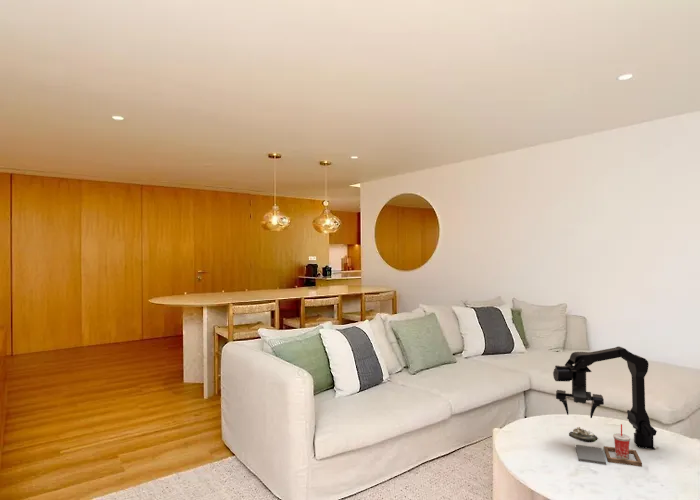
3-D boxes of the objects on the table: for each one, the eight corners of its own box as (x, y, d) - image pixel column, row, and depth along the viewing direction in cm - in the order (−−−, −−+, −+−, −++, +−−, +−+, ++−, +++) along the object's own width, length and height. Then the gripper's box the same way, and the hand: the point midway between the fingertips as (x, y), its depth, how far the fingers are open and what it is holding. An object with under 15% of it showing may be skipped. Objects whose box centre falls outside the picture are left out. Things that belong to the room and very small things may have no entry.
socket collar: (635, 453, 190) (635, 448, 190) (642, 466, 179) (641, 461, 179) (603, 449, 194) (603, 444, 194) (607, 461, 183) (607, 456, 183)
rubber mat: (601, 450, 194) (601, 447, 194) (606, 464, 181) (606, 462, 181) (575, 446, 198) (575, 444, 198) (578, 460, 185) (578, 458, 185)
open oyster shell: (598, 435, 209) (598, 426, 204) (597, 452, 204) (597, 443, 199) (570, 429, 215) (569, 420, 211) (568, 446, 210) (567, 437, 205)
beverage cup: (633, 461, 183) (632, 427, 183) (616, 460, 184) (616, 426, 184) (627, 454, 189) (626, 422, 189) (611, 453, 190) (610, 421, 190)
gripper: (555, 383, 195) (556, 419, 195) (604, 389, 187) (605, 426, 187) (556, 377, 205) (556, 411, 205) (602, 381, 198) (602, 417, 198)
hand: (579, 416), depth 199 cm, fingers open, 9 cm apart
